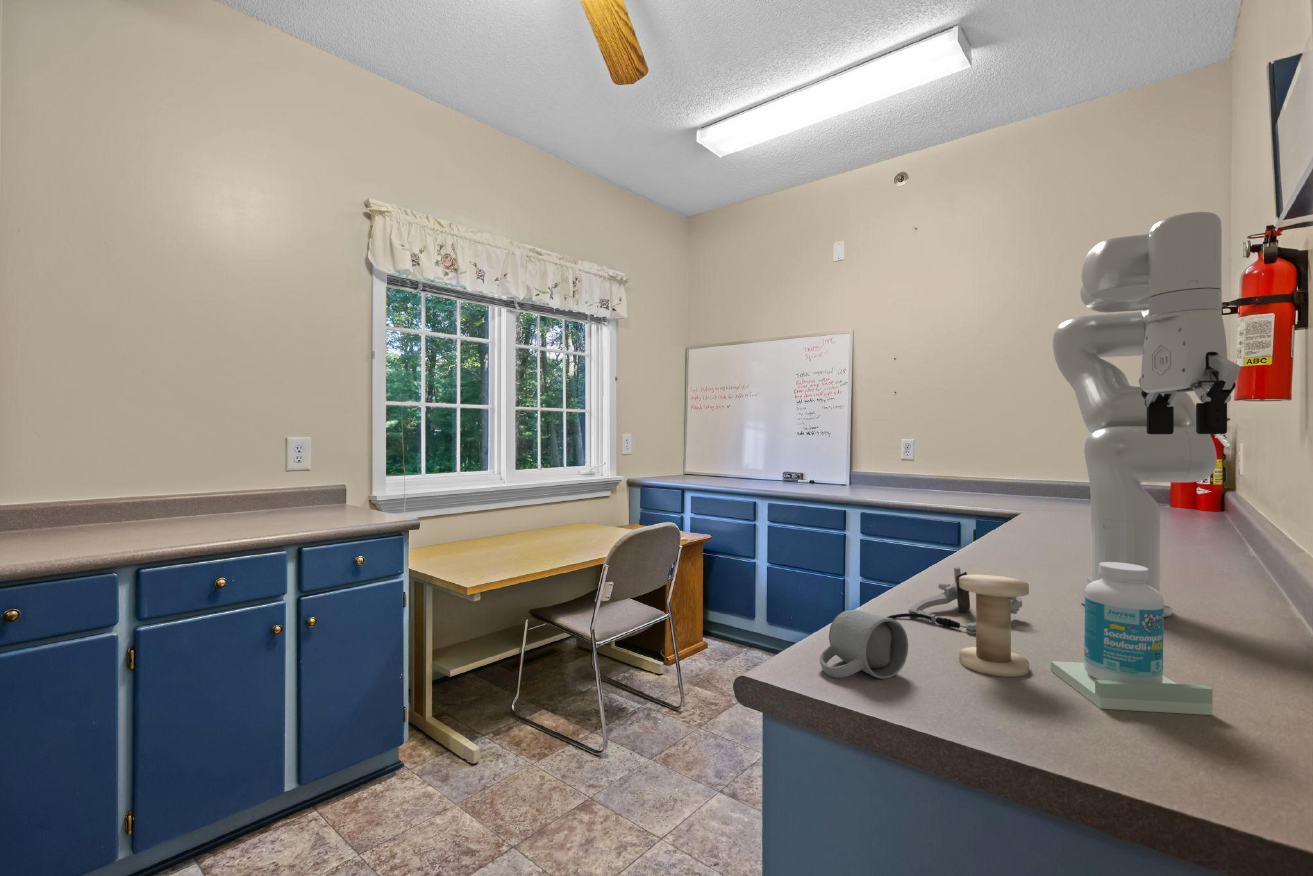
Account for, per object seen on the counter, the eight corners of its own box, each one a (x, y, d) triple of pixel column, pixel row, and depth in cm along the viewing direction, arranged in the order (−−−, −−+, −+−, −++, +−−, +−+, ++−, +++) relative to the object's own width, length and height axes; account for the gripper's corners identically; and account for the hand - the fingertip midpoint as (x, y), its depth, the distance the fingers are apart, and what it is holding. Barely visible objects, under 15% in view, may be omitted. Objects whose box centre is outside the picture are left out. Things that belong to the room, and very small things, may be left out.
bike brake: (952, 597, 110) (883, 633, 99) (949, 561, 109) (879, 594, 99) (1031, 617, 99) (962, 660, 88) (1029, 576, 98) (959, 616, 87)
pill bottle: (1103, 689, 69) (1103, 571, 69) (1072, 665, 76) (1072, 558, 76) (1179, 695, 67) (1179, 573, 67) (1140, 669, 74) (1140, 560, 74)
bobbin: (950, 652, 84) (950, 573, 84) (1012, 655, 83) (1012, 575, 83) (972, 675, 76) (971, 587, 76) (1040, 678, 75) (1040, 590, 75)
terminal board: (1050, 670, 77) (1050, 648, 77) (1145, 675, 76) (1145, 652, 76) (1100, 708, 67) (1100, 683, 67) (1212, 715, 65) (1212, 689, 65)
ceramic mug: (865, 653, 84) (864, 600, 84) (910, 673, 77) (909, 615, 77) (806, 667, 80) (804, 611, 79) (848, 689, 72) (846, 628, 72)
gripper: (1115, 321, 91) (1115, 434, 91) (1200, 294, 74) (1200, 434, 74) (1170, 319, 90) (1171, 434, 90) (1269, 292, 73) (1269, 433, 73)
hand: (1184, 434), depth 82 cm, fingers open, 9 cm apart
